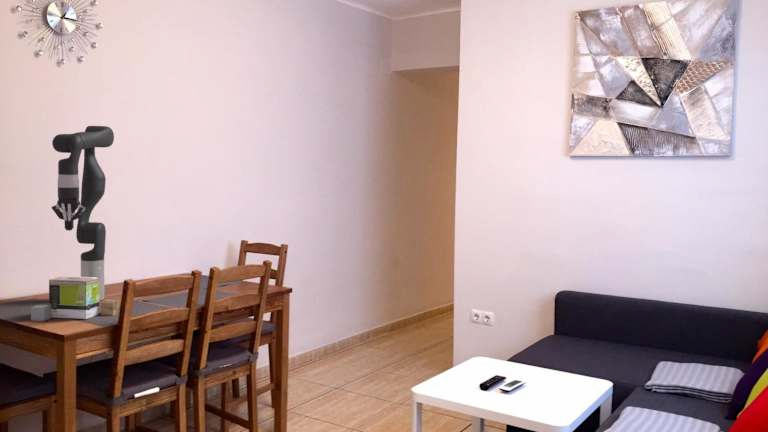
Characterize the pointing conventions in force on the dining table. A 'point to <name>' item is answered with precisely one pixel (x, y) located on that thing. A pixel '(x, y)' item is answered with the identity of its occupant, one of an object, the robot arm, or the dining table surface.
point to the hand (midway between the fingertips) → (69, 230)
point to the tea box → (74, 297)
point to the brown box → (109, 307)
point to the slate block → (41, 312)
